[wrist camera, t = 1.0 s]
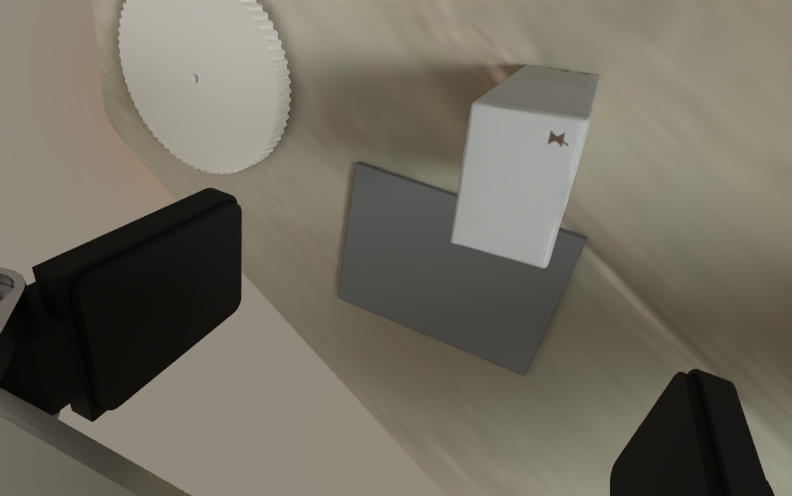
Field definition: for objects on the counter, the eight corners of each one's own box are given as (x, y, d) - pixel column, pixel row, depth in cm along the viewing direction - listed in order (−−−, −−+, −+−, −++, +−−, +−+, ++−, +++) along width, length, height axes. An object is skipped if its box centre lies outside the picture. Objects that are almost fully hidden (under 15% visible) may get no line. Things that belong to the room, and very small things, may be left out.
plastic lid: (269, -59, 29) (242, -63, 27) (318, 159, 35) (299, 169, 33) (121, -12, 35) (90, -13, 33) (183, 169, 41) (160, 178, 38)
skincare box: (523, 63, 26) (469, 95, 16) (602, 74, 25) (596, 116, 15) (502, 165, 29) (446, 245, 19) (572, 180, 28) (550, 272, 18)
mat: (586, 236, 29) (586, 240, 29) (525, 371, 35) (524, 376, 35) (359, 161, 33) (356, 163, 33) (340, 294, 39) (337, 297, 39)
